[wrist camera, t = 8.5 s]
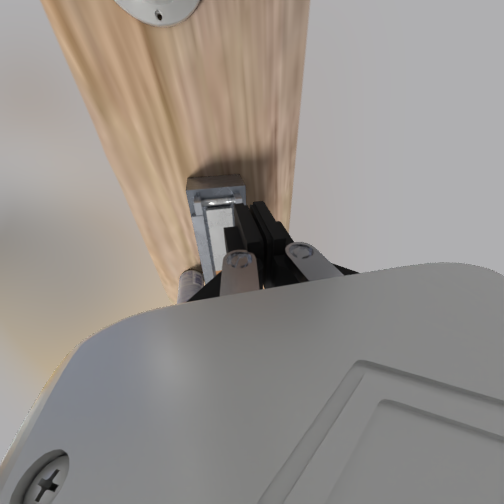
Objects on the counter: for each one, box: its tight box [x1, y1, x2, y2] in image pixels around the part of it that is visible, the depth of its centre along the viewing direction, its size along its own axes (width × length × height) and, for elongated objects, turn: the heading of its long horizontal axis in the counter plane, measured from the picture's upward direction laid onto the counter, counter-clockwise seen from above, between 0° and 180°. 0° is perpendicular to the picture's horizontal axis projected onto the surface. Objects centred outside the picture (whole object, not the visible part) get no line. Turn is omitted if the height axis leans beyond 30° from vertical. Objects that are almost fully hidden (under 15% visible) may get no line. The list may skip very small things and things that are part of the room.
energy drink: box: [177, 270, 204, 304], centre depth 44 cm, size 5×5×12 cm
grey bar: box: [206, 206, 233, 275], centre depth 37 cm, size 16×4×1 cm, turn 1°
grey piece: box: [186, 174, 246, 284], centre depth 39 cm, size 22×9×9 cm, turn 1°
